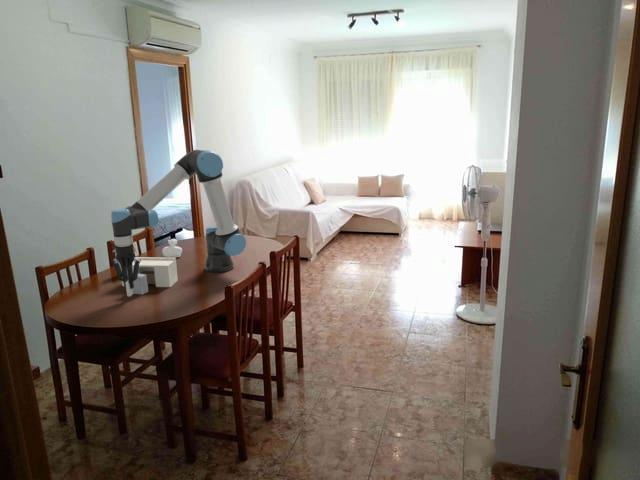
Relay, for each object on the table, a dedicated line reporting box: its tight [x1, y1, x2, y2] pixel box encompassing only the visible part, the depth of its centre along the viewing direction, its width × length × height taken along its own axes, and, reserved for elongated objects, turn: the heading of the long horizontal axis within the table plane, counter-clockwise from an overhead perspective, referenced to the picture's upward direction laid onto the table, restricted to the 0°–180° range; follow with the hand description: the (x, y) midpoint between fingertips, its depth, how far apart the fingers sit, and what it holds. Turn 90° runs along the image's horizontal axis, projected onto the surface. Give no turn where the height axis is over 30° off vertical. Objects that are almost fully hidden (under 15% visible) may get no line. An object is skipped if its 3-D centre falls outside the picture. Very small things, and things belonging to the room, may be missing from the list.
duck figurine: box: [161, 238, 183, 258], centre depth 291 cm, size 12×8×11 cm
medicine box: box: [128, 274, 149, 295], centre depth 232 cm, size 8×4×9 cm, turn 71°
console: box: [119, 256, 179, 288], centre depth 244 cm, size 24×10×12 cm, turn 84°
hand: (130, 295), depth 225 cm, fingers closed
